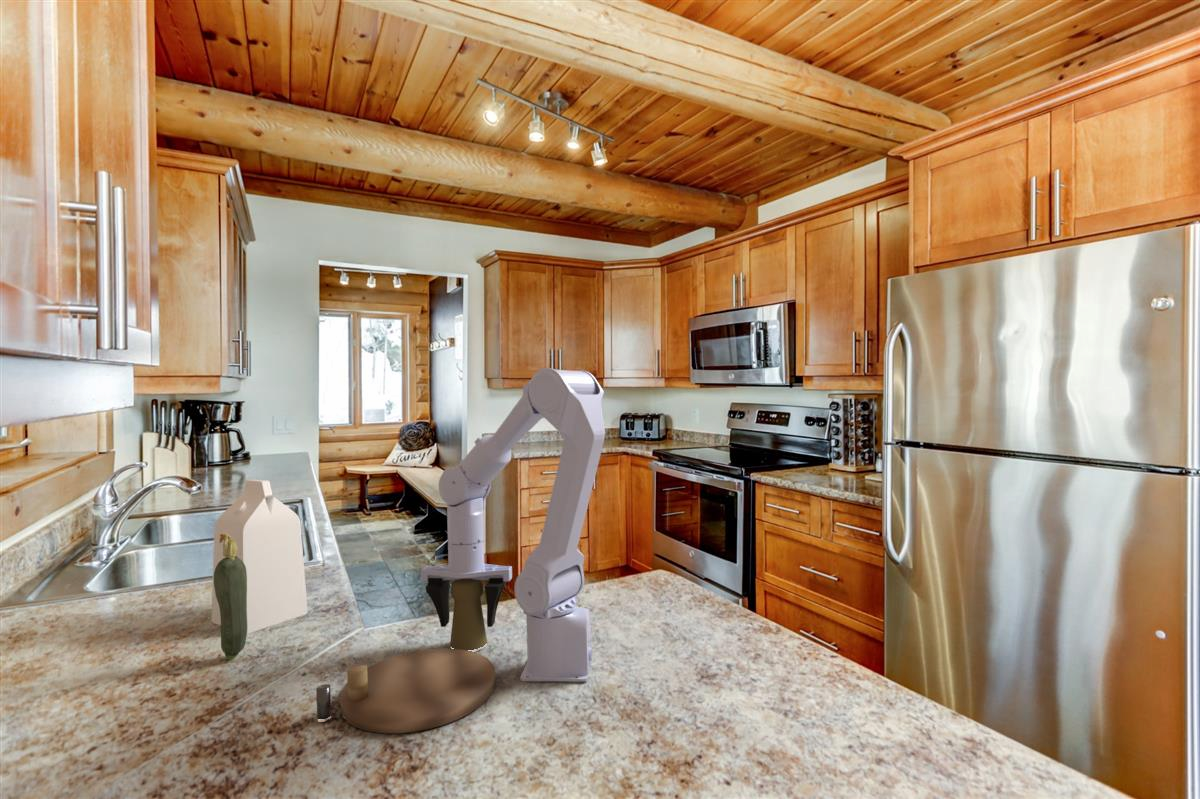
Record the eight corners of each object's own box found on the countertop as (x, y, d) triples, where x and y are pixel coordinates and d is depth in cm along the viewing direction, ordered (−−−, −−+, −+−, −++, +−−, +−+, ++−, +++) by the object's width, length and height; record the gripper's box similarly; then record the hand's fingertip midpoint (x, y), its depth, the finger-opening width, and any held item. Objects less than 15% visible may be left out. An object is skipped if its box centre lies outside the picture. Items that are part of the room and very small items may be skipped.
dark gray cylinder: (476, 672, 83) (476, 644, 83) (444, 724, 70) (443, 692, 70) (367, 671, 85) (366, 644, 85) (314, 722, 71) (313, 690, 71)
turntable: (470, 647, 92) (469, 616, 92) (517, 702, 74) (516, 663, 74) (333, 680, 81) (332, 645, 81) (351, 753, 64) (350, 708, 64)
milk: (307, 613, 109) (304, 478, 110) (244, 634, 100) (240, 486, 100) (274, 603, 116) (271, 475, 116) (211, 622, 106) (208, 482, 106)
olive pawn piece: (478, 655, 89) (476, 584, 89) (442, 652, 90) (441, 583, 90) (493, 639, 95) (491, 573, 95) (459, 637, 96) (458, 572, 96)
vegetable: (254, 657, 90) (251, 531, 90) (227, 669, 86) (224, 537, 86) (237, 652, 92) (234, 529, 92) (209, 664, 88) (206, 535, 88)
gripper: (515, 534, 96) (517, 615, 96) (431, 535, 97) (433, 615, 97) (505, 545, 89) (507, 632, 89) (415, 545, 90) (417, 631, 90)
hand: (468, 624), depth 93 cm, fingers open, 7 cm apart
